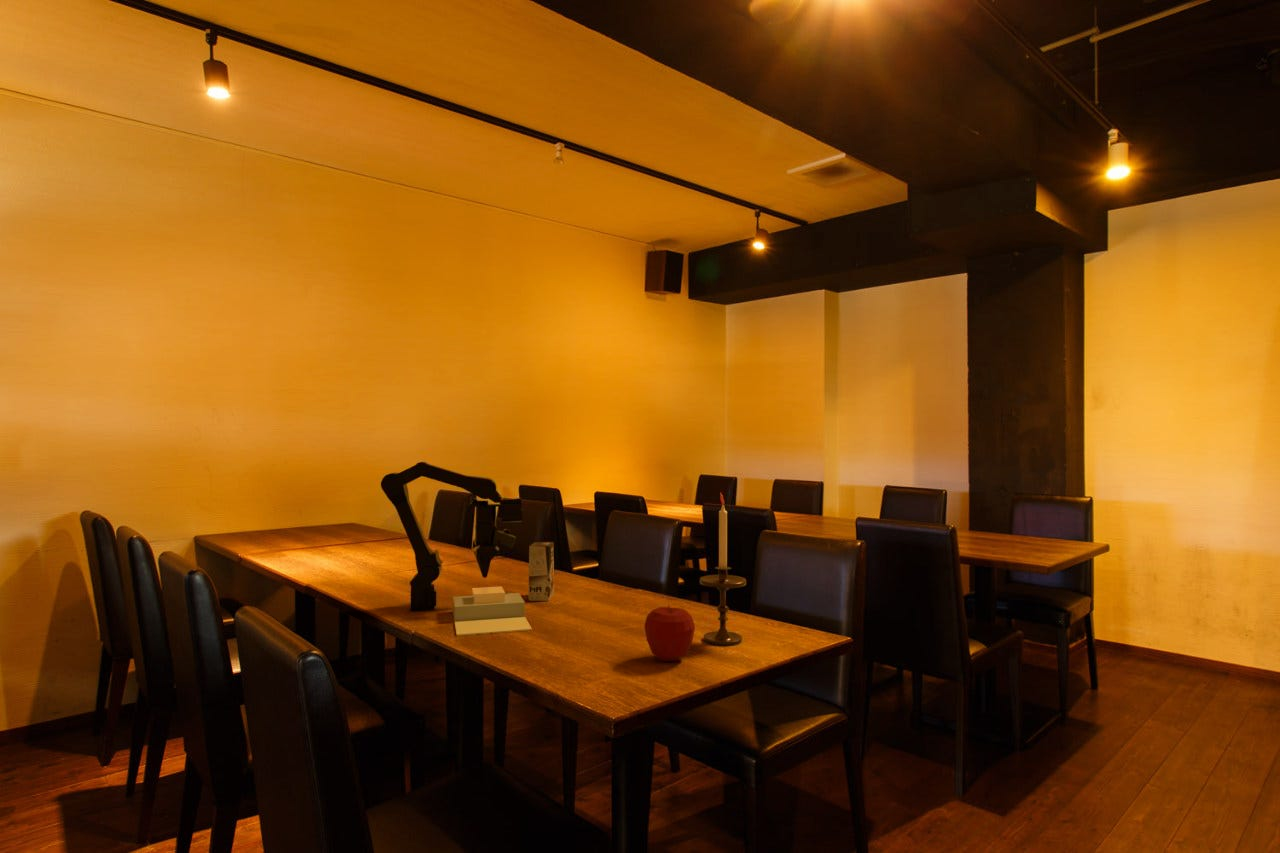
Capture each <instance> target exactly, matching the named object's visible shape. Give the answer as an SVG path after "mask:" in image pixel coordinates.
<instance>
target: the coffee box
mask: <svg viewBox="0 0 1280 853" xmlns="http://www.w3.org/2000/svg"><path fill="white" fill-rule="evenodd" d="M528 548H529V549H528V601H531V602H535V601H536V602H539V601H542V602H550V601H551V599H552V597H553V596H554V589H555V588H554V583H555V582H554V581H555V576H554V572H555V571H554V568H555V564H554V563H555V559H554V558H555V557H554V556H555V554H554V552H555V549H554V548H555V542H554V541H540V542H538V541H536V542H533V543H531V544H530V545H529V547H528Z"/></svg>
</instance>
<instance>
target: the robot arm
mask: <svg viewBox="0 0 1280 853" xmlns="http://www.w3.org/2000/svg"><path fill="white" fill-rule="evenodd" d="M421 477H424V478H428V479H430V480H434V481H437V482H440V483H443V484H447V485H451V486H453V487H457V488H459V489H460V488H461V489H463V490H465V491H466V492H468V493H470V494H472V495H473V496H476V497H473V500H472V501H471V502H470V503H469V504H468V507H470V508H472V507H473V508H475V520H474V521H475V523H474V524H475V525H474V530H475V531H474V532H475V533H474V534H475V535H474V539H473V540H471V542H472V546H471V549H474V550H475V551H474V550H473V554H474V557H475V559H476V563H477V565H478V568H479V571H480V573H481V576H482V578H484V579H486V578H487V577H488V575H489V571H490V567H491V566H490V565H491V562H492V560H493V559H494V558H496V557H500V548H499V546H498V545H499V544H500V545H503V546H506V547H508V548H510V549H513V548H514V545H515V542H516V540H517V537H516V535H513V534H512V533H511V530H510V529H507V528H504V529H503V530H499V528H498V527H497V517H498V520H499V519H500V520H501V521H502V523H521V522H523V508H522V505H523V504H522V498H521V497H516V498H503V496H502V495H500V493H499V492H498V490H497V489H498V488H497V484H496V482H495V480H494V479H492V478H490V477H483V476H474V475H466V474H463V473H459V472H456V471H452V470H450V469H446V468H443V467H439V466H436V465H433V464H430V463H428V462H426V461H420V462H419V461H418V462H417V463H416V464H415V465H413V466H410V467H408V468H406V469H404V470H402V471H401V472H396V471H395V472H390V473H387V474H385V475H384V476H383V477H382V479H381V481H380V488H381V490H382V491H383V493H384V494H385V496H386V497H387V499H388V500H389V501H390V502H391V504H392V506H394V508H395V510H396V512H397V515H398V517H399V520H400V522H401V524H402V526H403V528H404V531H405V534H406V536H407V538H408V541H409V543H410V545H411V547H412V550H413V552H414V559H415V566H416V571H417V573H415V575H414V576H413V577H412V578H411V580H410V581H409V584H410V604H409V612H418V611H433V610H436V609H435V607H436V606H437V589H435V583H433V582H435V581H436V580H437V579H439V577H440V575H441V572H442V568H443V567H442V564H443V562H444V561H443V560H442V559H441V557H440V554H439V551H438V549H435V550H434V551H433V550H432V549H431V548H430V546H429V545H428V542H427V540H426V538H425V537H426V536H425V534H424V533H423V530H422V527H421V525H420V523H419V521H418V518H417V516H416V513H415V511H414V509H413V506H412V504H411V501H410V496H409V488H408V484H410V483H412V482H413V481H415V480H417V479H419V478H421ZM477 497H478V498H480V499H482V500H478V499H477ZM489 501H492V502H493V503H489ZM497 507H498V516H497Z"/></svg>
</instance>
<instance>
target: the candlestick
mask: <svg viewBox="0 0 1280 853" xmlns="http://www.w3.org/2000/svg"><path fill="white" fill-rule="evenodd" d="M719 495H720V498H719V499H720V502H721V509H720V510H719V511H718V566H715V567H714V569H716V570H718V574H708V575H703V576H701V577H699V584H700V585H701V586H704V587H708V588H715V589H717V590H718V591H719V605H718V606H717V607H716V610H717V612H718V613H719V616H718V617H717V621H719V628H718V630H715V631H709V632H705V634H703V642H705V643H706V644H710V645H713V646H720V647H731V646H738V645H739V644H742V643H743V637H742V635H740V634H739V633H736V632H733V631H728V630H727V628H726V626H727V625H726V624H727V623H726V622H727V621H728V620H729V617H727V613H728V612H729V609H730V608H729V606H727V605H726V604H727V599H726V598H727V595H726V592H727V591H728V590H730V589H737V588H743V587H745V586H746V585H747V579H746V578H745V577H742V576H739V575H732V574H728V570H732V567H730V566H728V511H727V510H726V509H725V500H724V495H723V494H722V492H720V493H719Z"/></svg>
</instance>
